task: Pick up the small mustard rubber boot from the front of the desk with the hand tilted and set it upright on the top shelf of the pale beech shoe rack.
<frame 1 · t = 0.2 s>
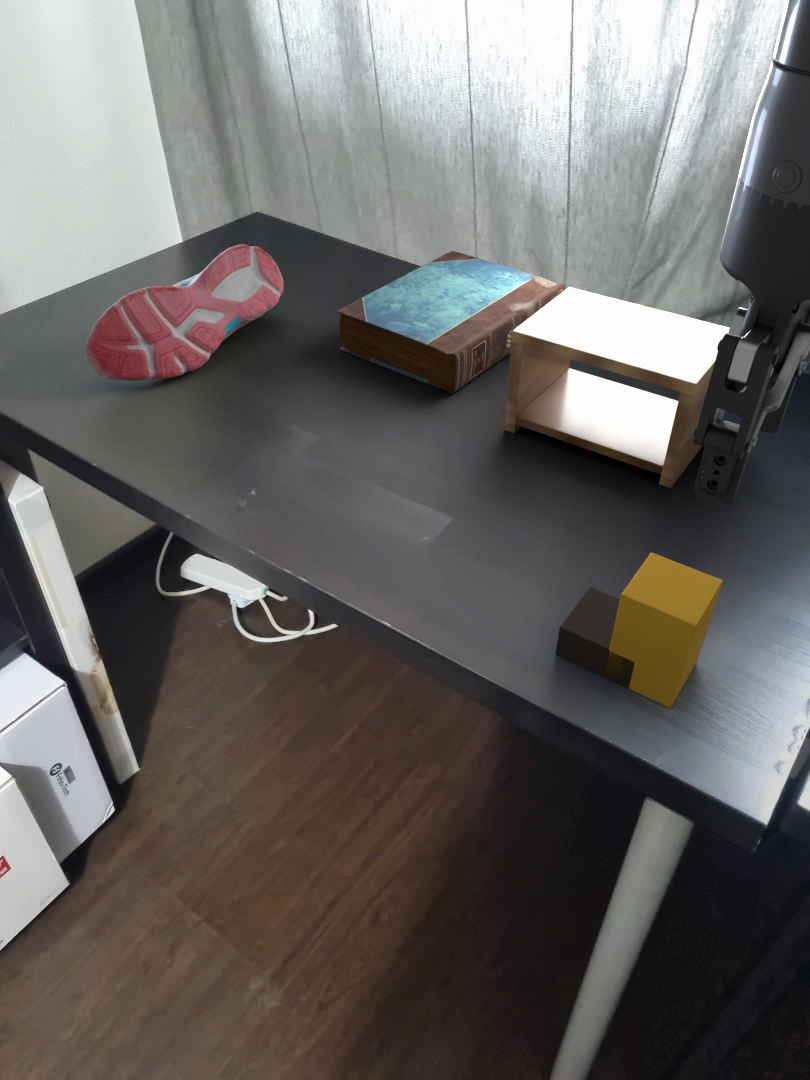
hand: (737, 459, 49), 19 cm above the table, tool pointing down, fingers open, 8 cm apart
shoe rack: (609, 430, 86), on the table
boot: (649, 669, 61), on the table
athletic shoe: (197, 349, 101), on the table
book: (452, 336, 102), on the table
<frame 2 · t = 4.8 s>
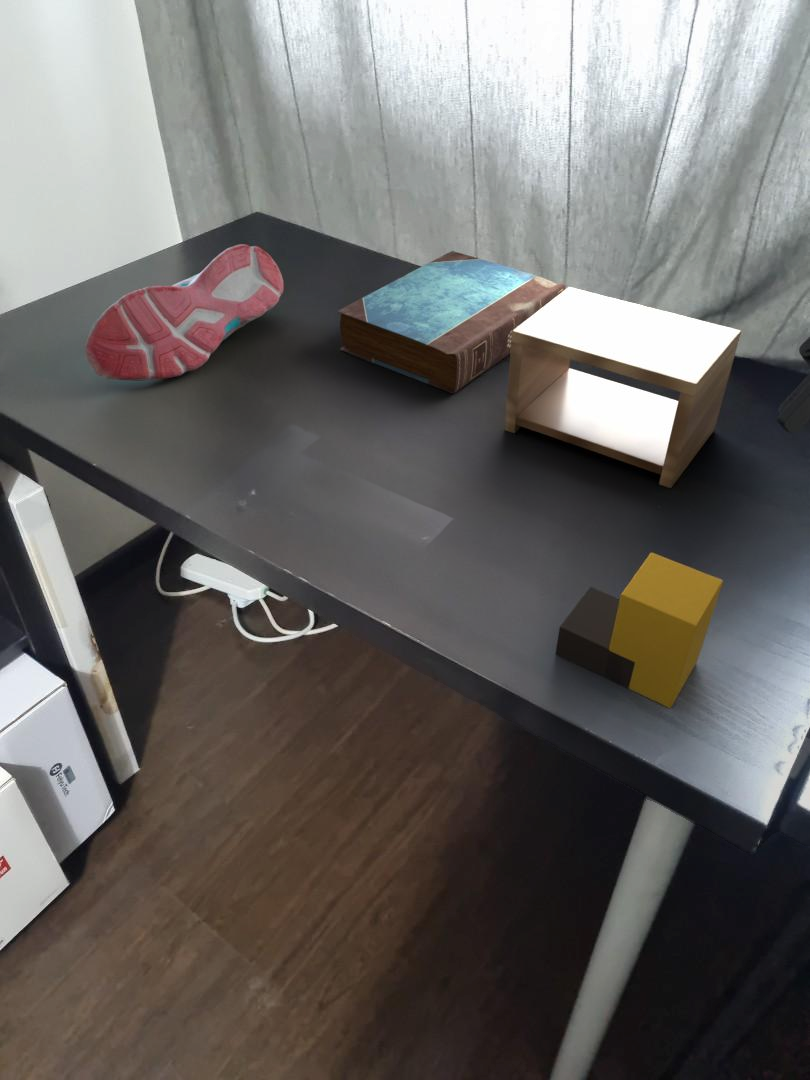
nothing on the table moved.
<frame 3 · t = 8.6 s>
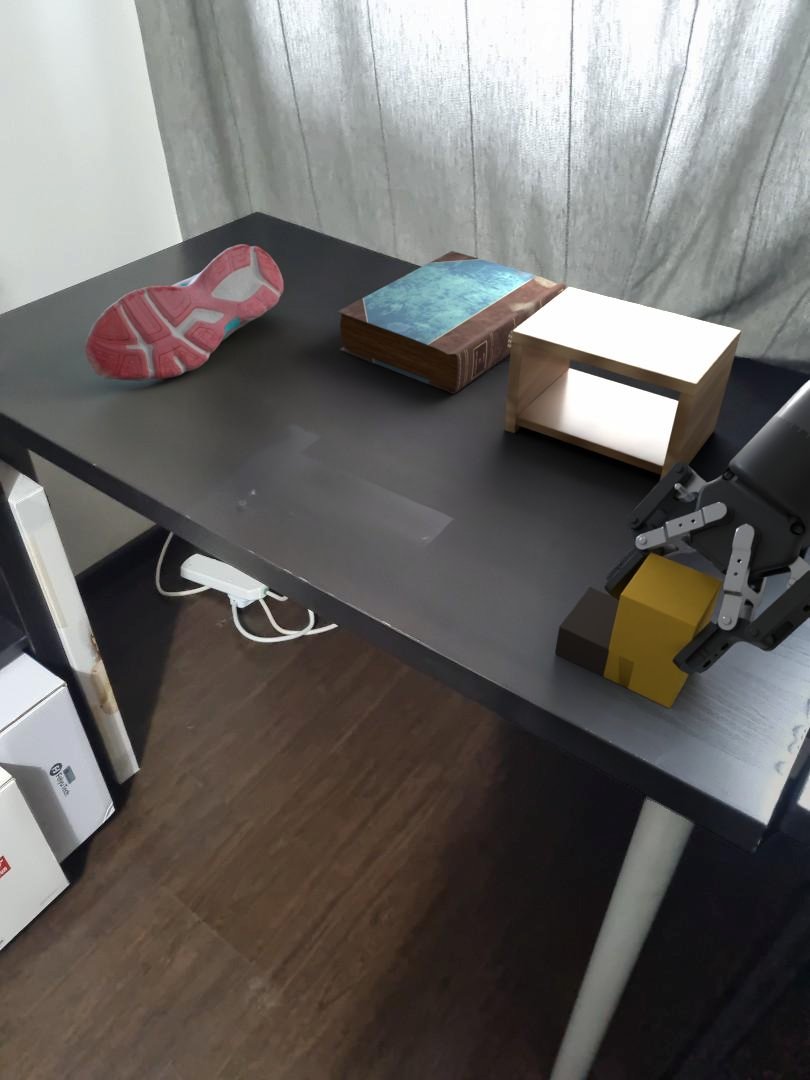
hand: (645, 629, 57), 5 cm above the table, tool tilted 45°, fingers closed on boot, 7 cm apart
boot: (649, 669, 61), on the table, touching gripper
everything else where it was.
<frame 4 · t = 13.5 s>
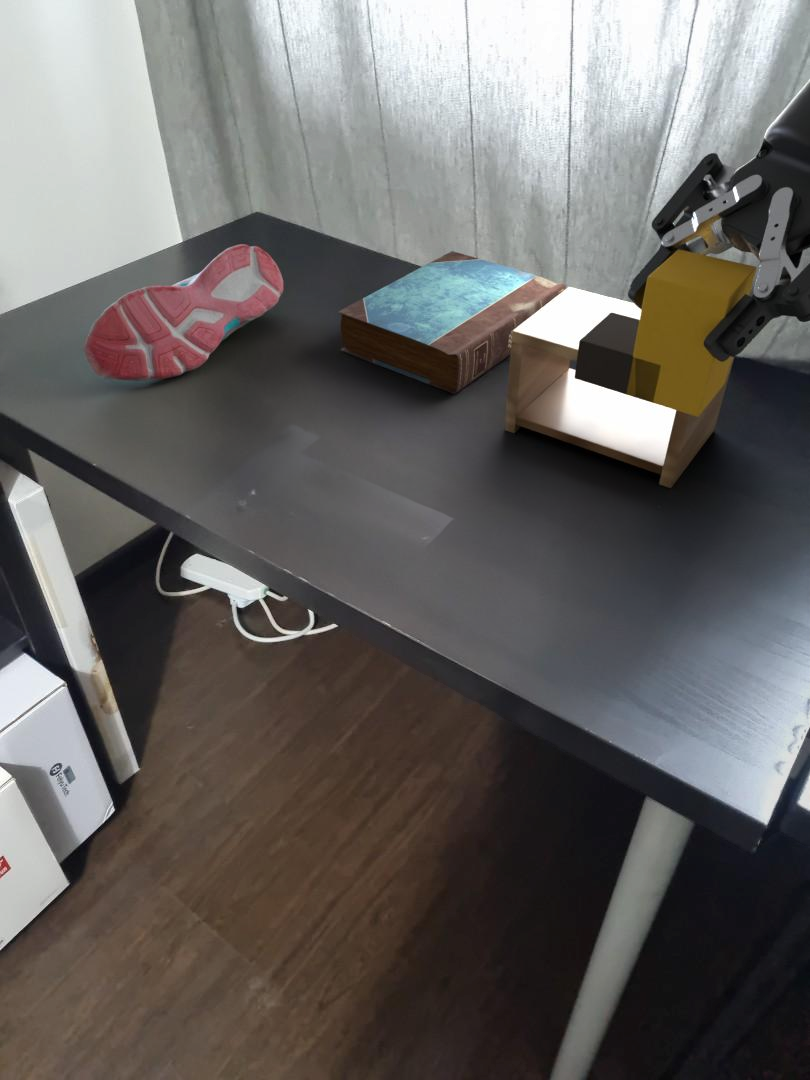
hand: (672, 327, 54), 23 cm above the table, tool tilted 45°, fingers closed on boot, 7 cm apart
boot: (675, 389, 57), point 18 cm above the table, touching gripper
everything else where it was.
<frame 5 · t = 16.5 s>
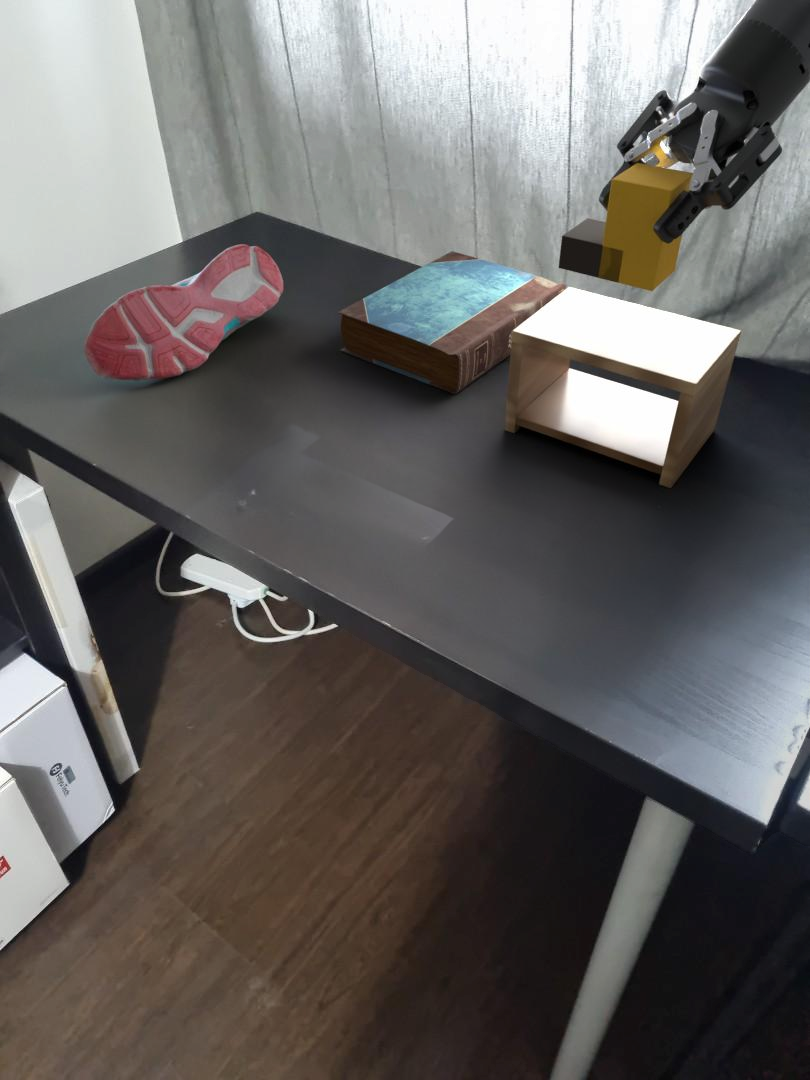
hand: (632, 221, 71), 22 cm above the table, tool tilted 45°, fingers closed on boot, 7 cm apart
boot: (636, 274, 74), point 17 cm above the table, touching gripper
everything else where it was.
when the fingers open (16 cm above the table, at t = 18.7 s): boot stays where it is, resting on shoe rack.
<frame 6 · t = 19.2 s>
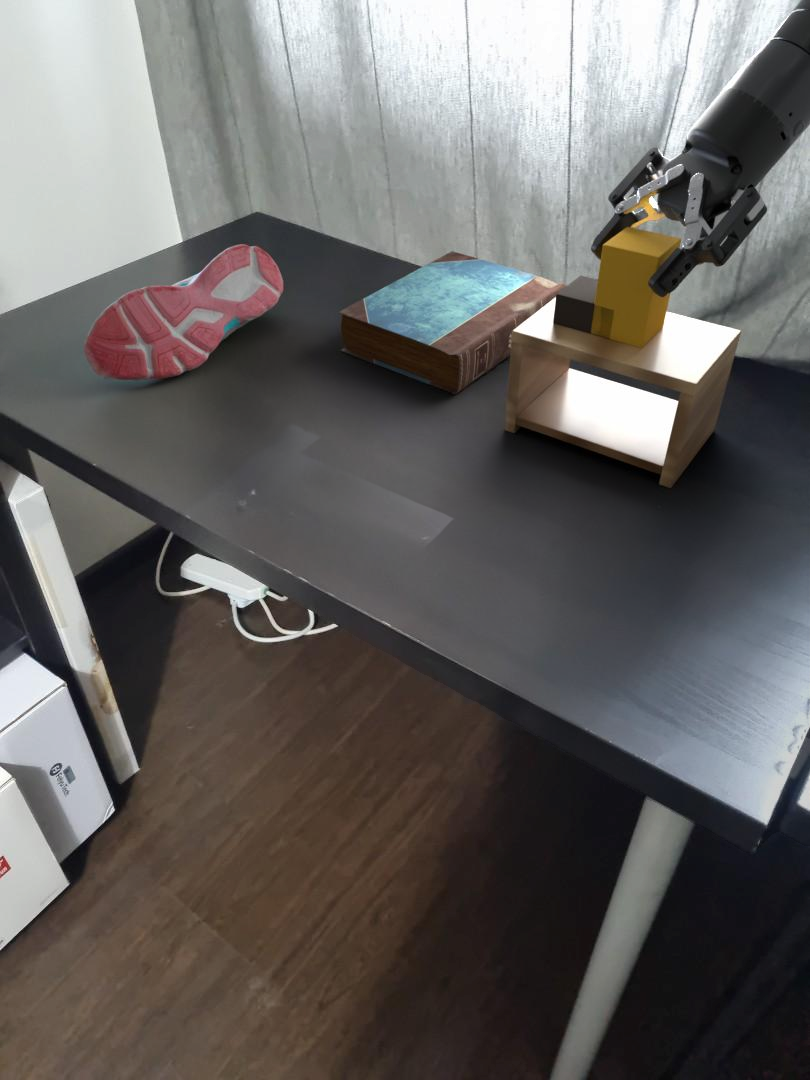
hand: (624, 273, 74), 17 cm above the table, tool tilted 45°, fingers open, 8 cm apart
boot: (626, 330, 78), point 11 cm above the table, touching shoe rack
everything else where it was.
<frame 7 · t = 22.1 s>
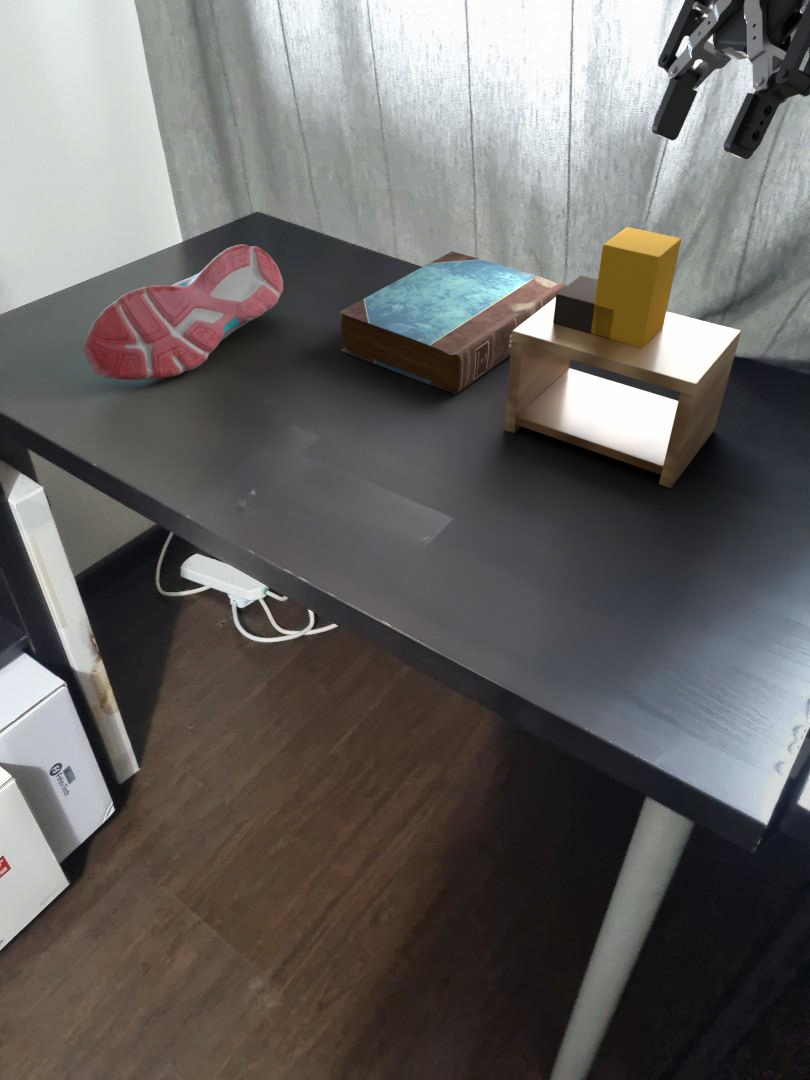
hand: (697, 145, 61), 29 cm above the table, tool tilted 25°, fingers open, 8 cm apart
nothing on the table moved.
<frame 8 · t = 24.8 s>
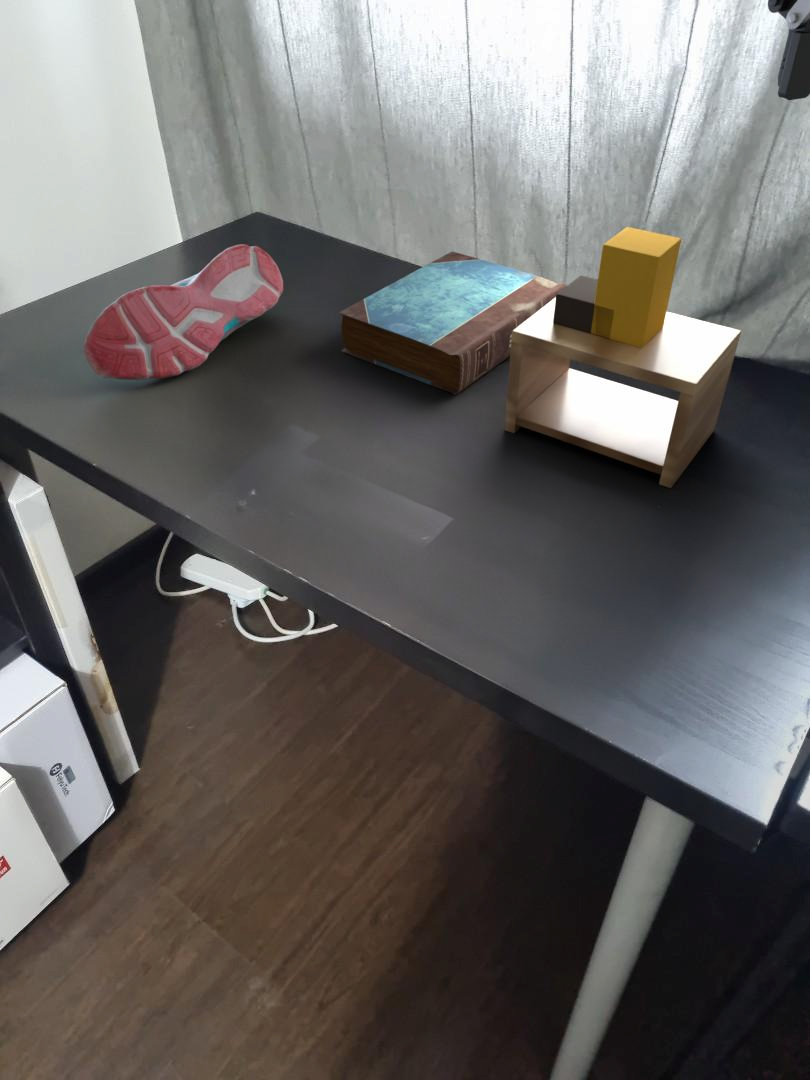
nothing on the table moved.
at the end: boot inside the target area on the shoe rack (0.1 cm from its centre), point 11.2 cm above the shoe rack's base; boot tilted 0°; the gripper is holding nothing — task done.
